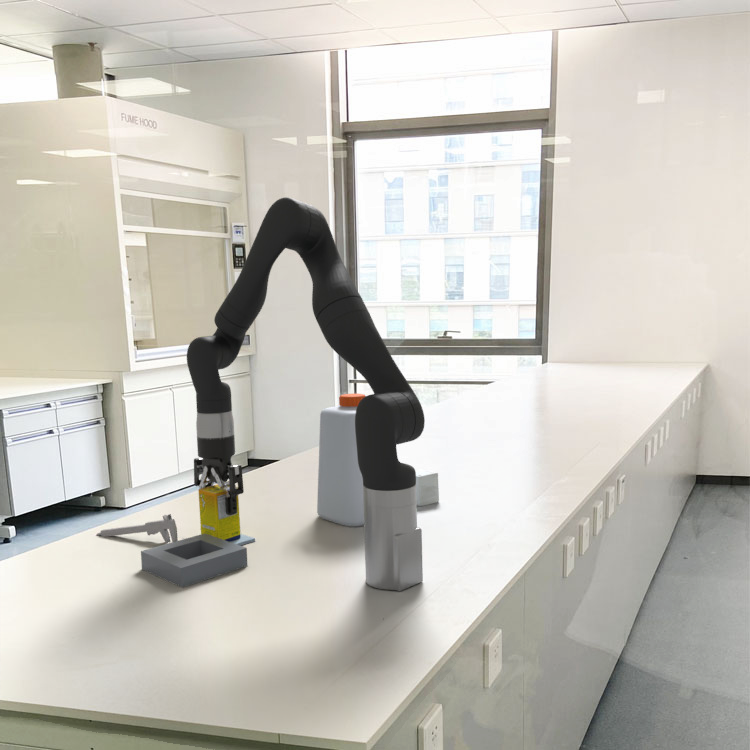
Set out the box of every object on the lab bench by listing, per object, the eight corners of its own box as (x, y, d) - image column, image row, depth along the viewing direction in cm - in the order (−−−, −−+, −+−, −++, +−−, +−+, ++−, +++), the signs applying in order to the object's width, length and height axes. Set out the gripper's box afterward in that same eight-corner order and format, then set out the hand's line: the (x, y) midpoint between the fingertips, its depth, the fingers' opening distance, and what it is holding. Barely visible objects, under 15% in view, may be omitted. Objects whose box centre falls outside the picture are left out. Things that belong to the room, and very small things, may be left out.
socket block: (247, 565, 143) (246, 547, 142) (182, 587, 133) (181, 568, 132) (205, 550, 152) (204, 533, 152) (141, 569, 142) (140, 551, 142)
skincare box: (439, 502, 183) (438, 472, 183) (419, 506, 180) (418, 476, 179) (424, 497, 188) (423, 468, 188) (404, 501, 185) (403, 472, 184)
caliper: (178, 543, 158) (176, 514, 158) (174, 545, 157) (173, 515, 157) (99, 535, 166) (97, 507, 165) (96, 536, 165) (94, 508, 164)
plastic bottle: (351, 530, 163) (347, 401, 160) (309, 516, 174) (305, 395, 171) (403, 516, 173) (400, 394, 170) (360, 503, 184) (356, 389, 181)
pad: (255, 541, 157) (255, 538, 157) (214, 553, 150) (214, 550, 150) (227, 531, 164) (227, 529, 164) (186, 543, 157) (186, 540, 157)
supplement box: (223, 533, 161) (220, 482, 160) (241, 538, 157) (238, 486, 156) (200, 540, 157) (197, 488, 156) (218, 545, 153) (215, 492, 152)
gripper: (251, 434, 153) (255, 512, 154) (211, 427, 163) (215, 501, 164) (220, 439, 147) (224, 521, 149) (180, 432, 157) (184, 508, 159)
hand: (219, 510), depth 157 cm, fingers open, 8 cm apart
